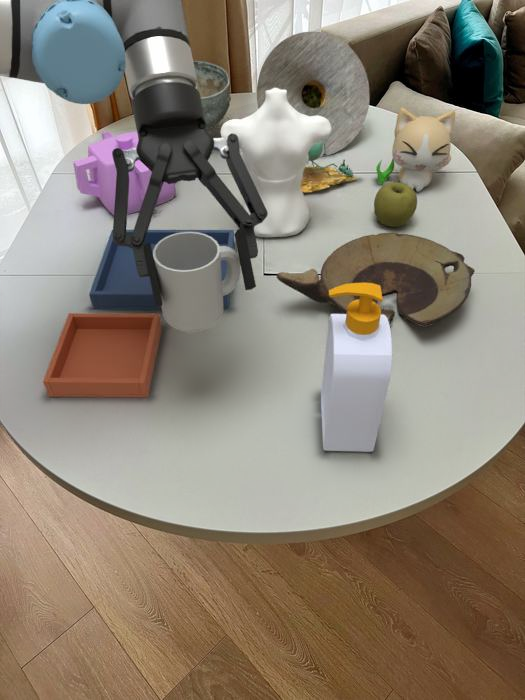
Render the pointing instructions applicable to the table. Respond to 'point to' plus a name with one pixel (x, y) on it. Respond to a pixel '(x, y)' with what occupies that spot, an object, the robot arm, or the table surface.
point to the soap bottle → (355, 371)
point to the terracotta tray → (104, 356)
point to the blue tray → (124, 281)
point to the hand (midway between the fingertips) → (205, 296)
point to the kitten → (419, 148)
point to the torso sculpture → (278, 159)
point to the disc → (319, 83)
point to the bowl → (213, 91)
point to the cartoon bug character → (323, 172)
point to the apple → (395, 204)
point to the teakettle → (115, 173)
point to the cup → (194, 279)
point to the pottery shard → (392, 276)
